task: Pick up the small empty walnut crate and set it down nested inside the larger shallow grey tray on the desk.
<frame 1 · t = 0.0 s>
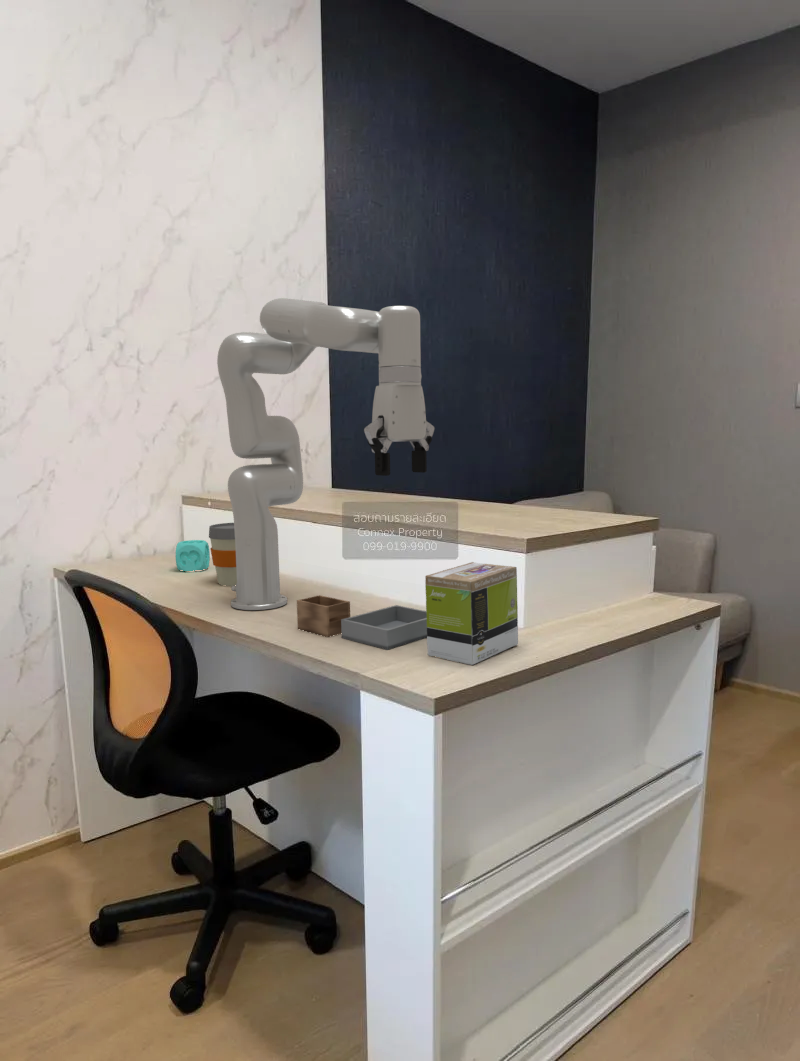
hand: (401, 473, 140), 31 cm above the table, tool pointing down, fingers open, 9 cm apart
small crate: (324, 630, 152), on the table
grey tray: (392, 635, 148), on the table
decorative dice: (193, 570, 219), on the table
reusable coffee cup: (235, 583, 200), on the table
tea box: (473, 652, 137), on the table
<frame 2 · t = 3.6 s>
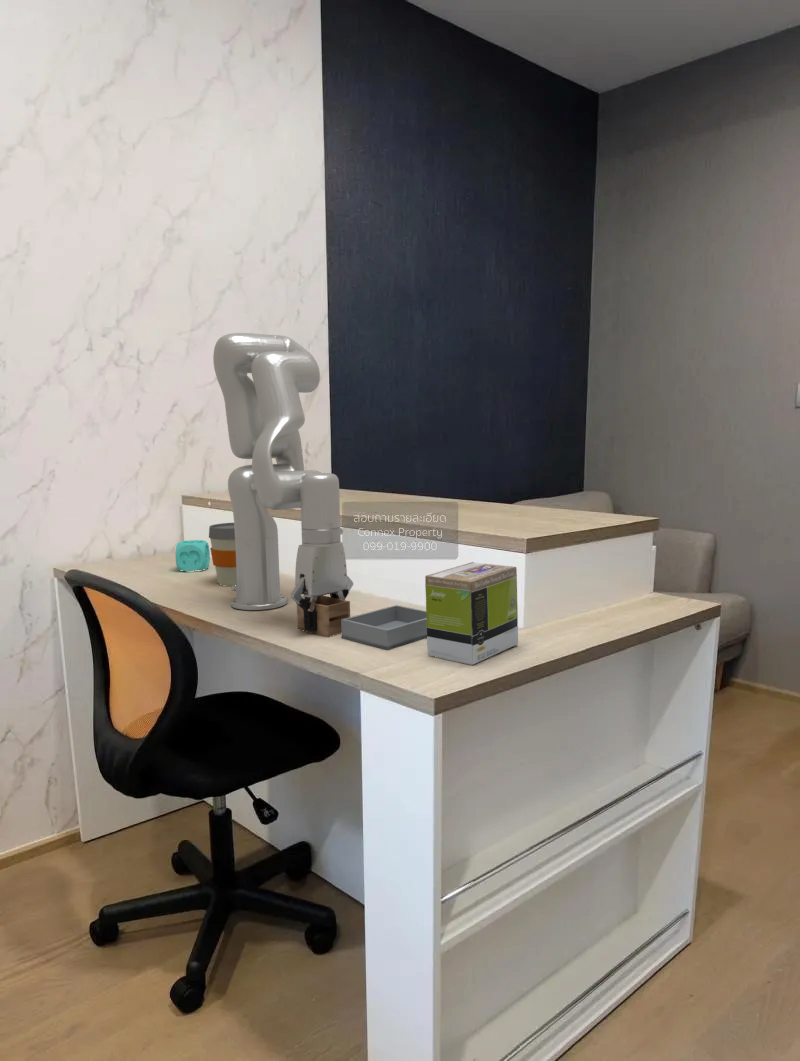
hand: (323, 625, 152), 1 cm above the table, tool pointing down, fingers closed on small crate, 6 cm apart
small crate: (324, 630, 152), on the table, touching gripper
everything else where it was.
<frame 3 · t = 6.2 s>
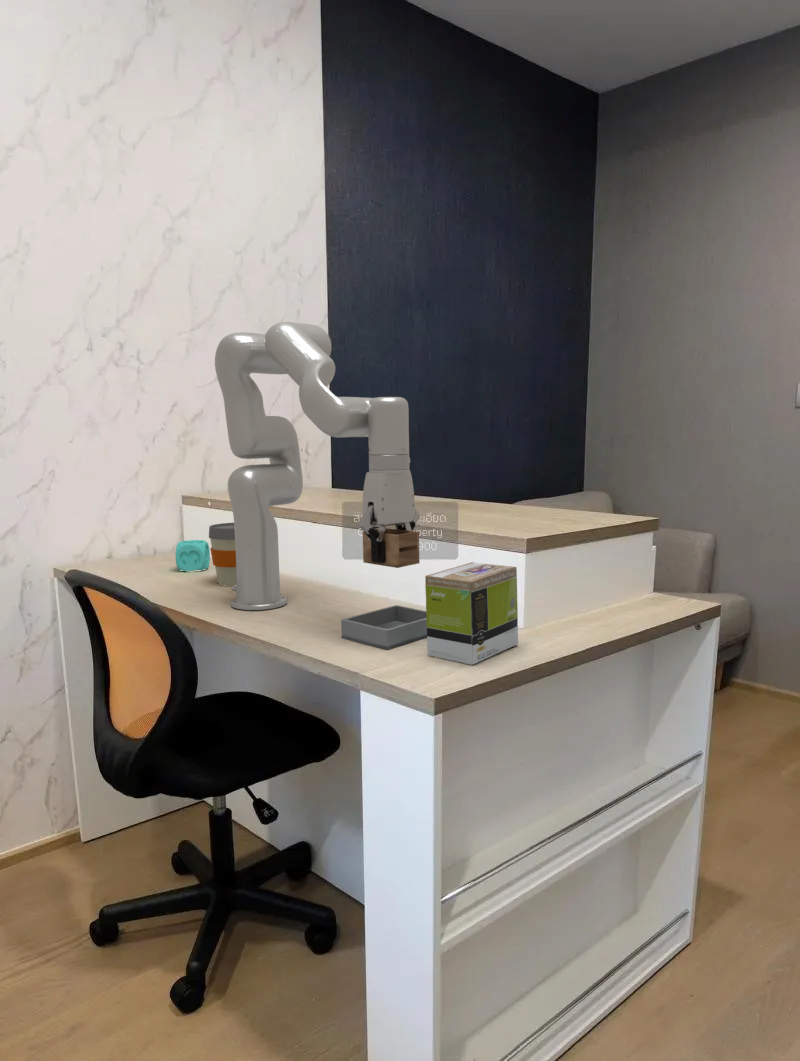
hand: (391, 558, 146), 15 cm above the table, tool pointing down, fingers closed on small crate, 6 cm apart
small crate: (391, 562, 146), point 14 cm above the table, touching gripper
everything else where it was.
when the fingers open (4 cm above the table, at t = 9.0 s): small crate drops 2 cm, resting on grey tray.
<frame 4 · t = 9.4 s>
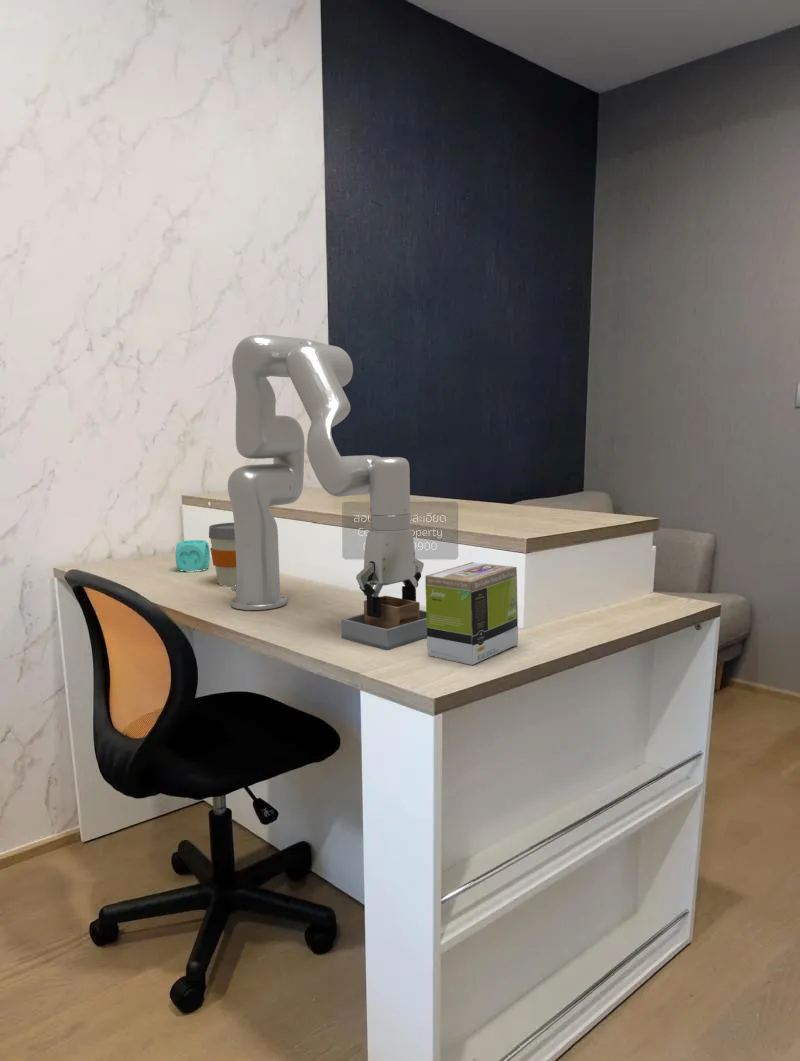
hand: (392, 611, 147), 5 cm above the table, tool pointing down, fingers open, 9 cm apart
small crate: (392, 632, 148), point 1 cm above the table, touching grey tray
everything else where it was.
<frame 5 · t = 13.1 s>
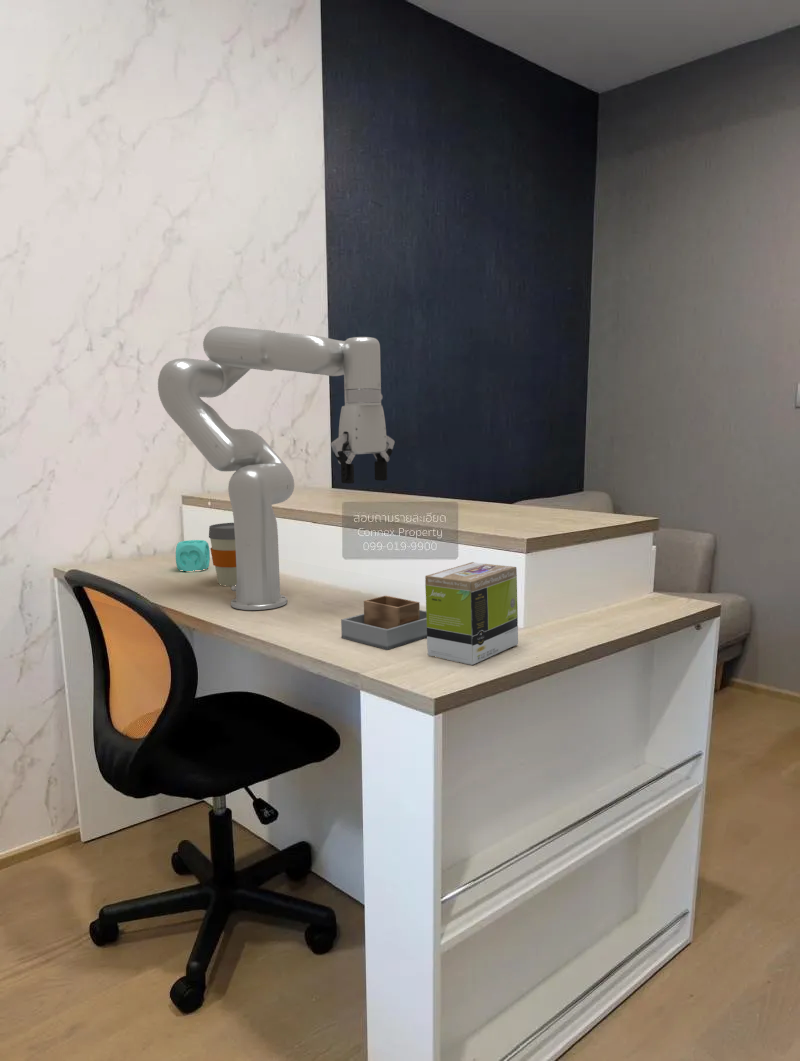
hand: (364, 481, 161), 28 cm above the table, tool pointing down, fingers open, 9 cm apart
nothing on the table moved.
at the end: small crate inside the target area on the grey tray (0.1 cm from its centre), point 0.6 cm above the grey tray's base; small crate tilted 0°; the gripper is holding nothing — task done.
